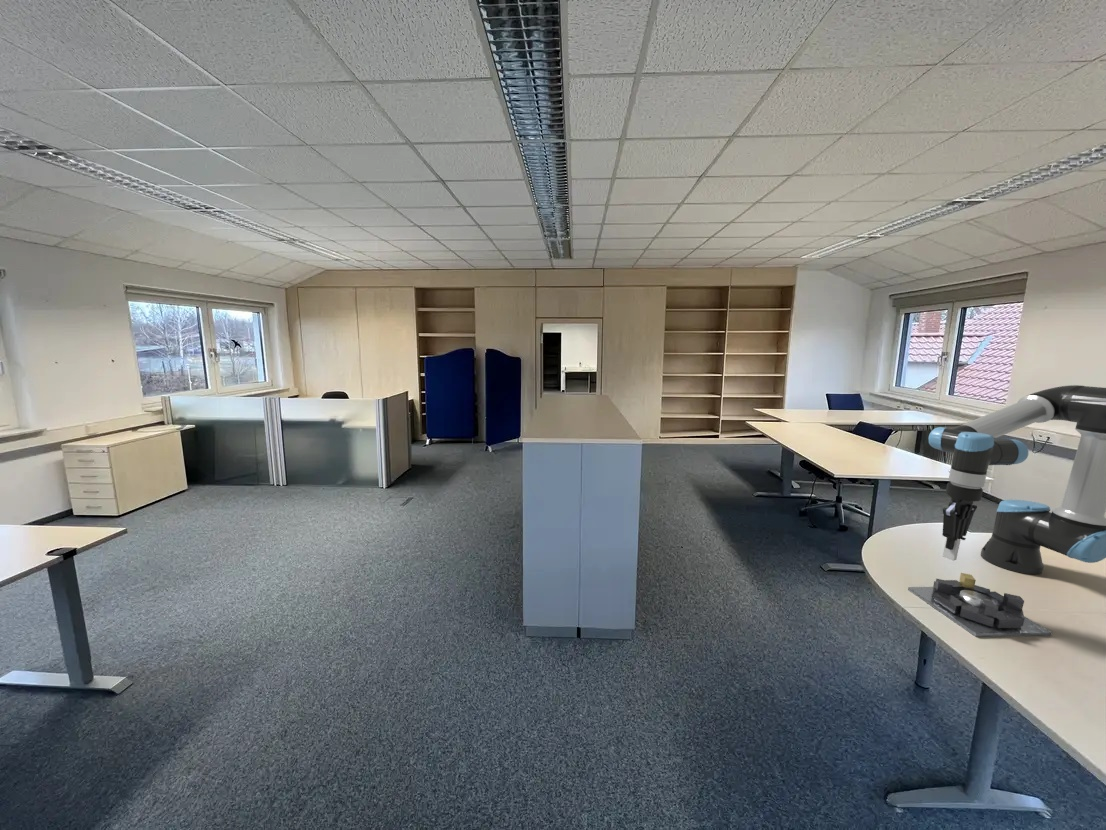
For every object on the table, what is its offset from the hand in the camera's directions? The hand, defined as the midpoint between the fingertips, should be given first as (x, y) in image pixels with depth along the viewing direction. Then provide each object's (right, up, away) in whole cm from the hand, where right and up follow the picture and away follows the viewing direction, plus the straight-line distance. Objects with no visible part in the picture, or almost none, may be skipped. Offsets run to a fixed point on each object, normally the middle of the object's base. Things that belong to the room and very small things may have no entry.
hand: (949, 557), depth 127 cm
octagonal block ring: (+3, -13, -5) cm, 14 cm away
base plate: (+3, -14, -4) cm, 15 cm away
